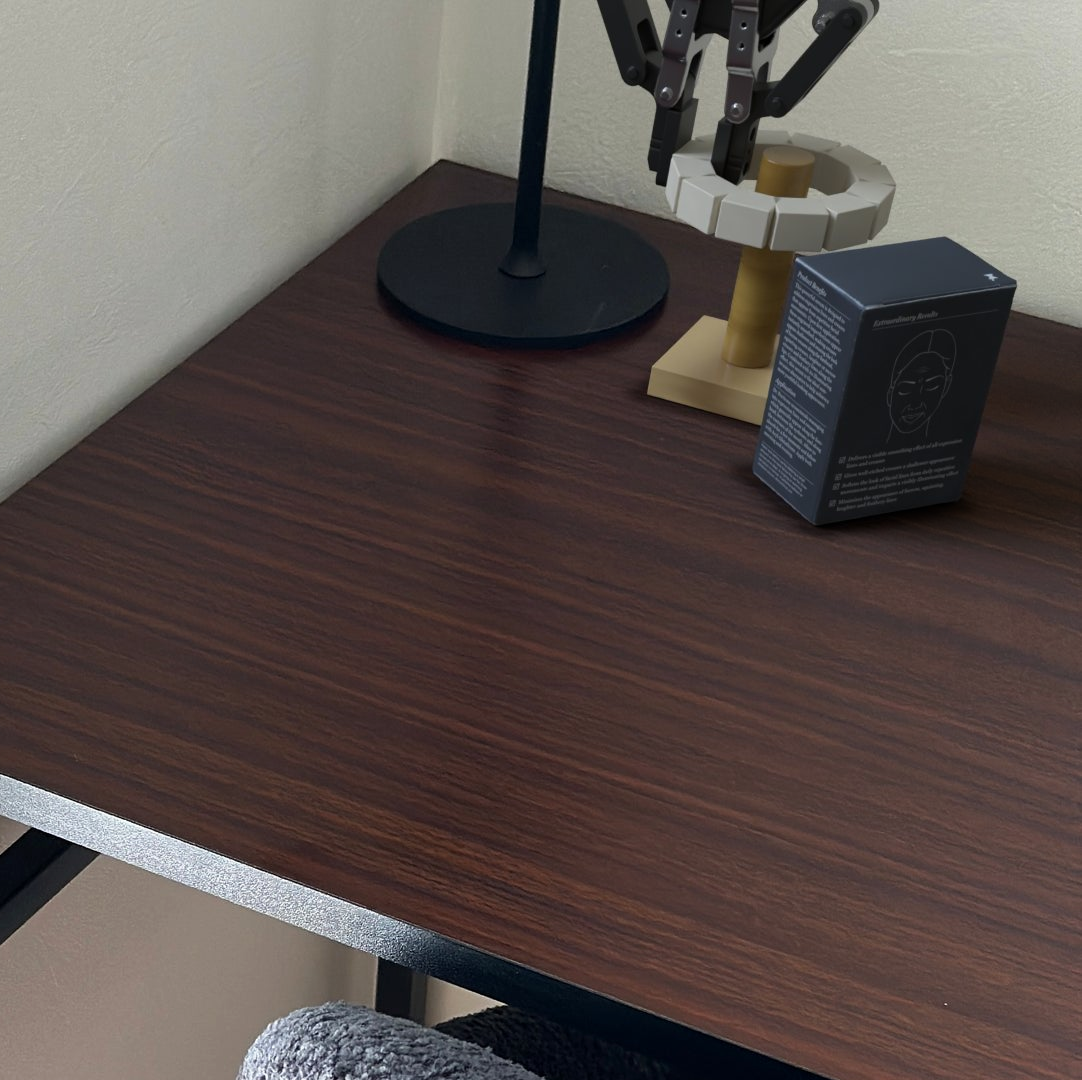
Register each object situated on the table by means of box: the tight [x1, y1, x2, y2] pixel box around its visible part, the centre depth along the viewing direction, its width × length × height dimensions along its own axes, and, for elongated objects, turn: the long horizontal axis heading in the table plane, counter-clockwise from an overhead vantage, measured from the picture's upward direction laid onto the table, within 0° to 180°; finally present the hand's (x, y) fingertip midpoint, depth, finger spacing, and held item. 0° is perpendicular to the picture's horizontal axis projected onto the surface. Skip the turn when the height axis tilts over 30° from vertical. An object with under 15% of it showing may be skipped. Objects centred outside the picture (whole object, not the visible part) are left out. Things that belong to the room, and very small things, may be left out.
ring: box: [664, 129, 897, 253], centre depth 110 cm, size 10×10×2 cm
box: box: [751, 235, 1018, 526], centre depth 105 cm, size 8×6×11 cm
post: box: [646, 146, 815, 427], centre depth 112 cm, size 7×7×12 cm
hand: (693, 186), depth 112 cm, fingers closed on ring, 2 cm apart
